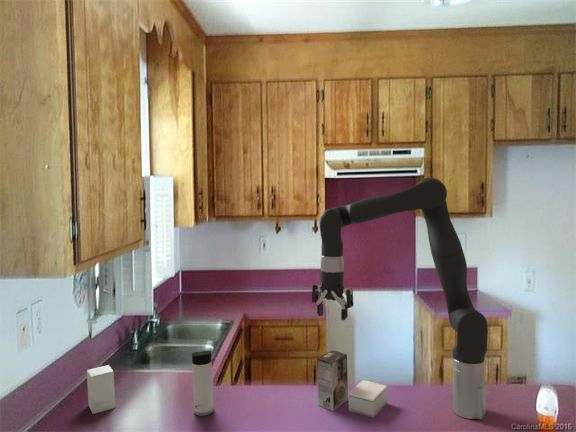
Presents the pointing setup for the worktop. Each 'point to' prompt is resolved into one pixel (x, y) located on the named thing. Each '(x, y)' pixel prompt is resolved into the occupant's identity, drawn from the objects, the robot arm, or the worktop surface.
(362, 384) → the lid
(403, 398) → the worktop surface
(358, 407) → the white box
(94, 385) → the supplement box
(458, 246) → the robot arm
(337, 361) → the coffee box
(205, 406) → the travel mug
